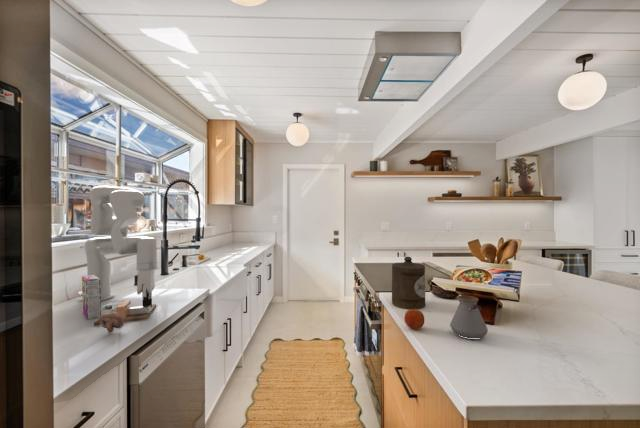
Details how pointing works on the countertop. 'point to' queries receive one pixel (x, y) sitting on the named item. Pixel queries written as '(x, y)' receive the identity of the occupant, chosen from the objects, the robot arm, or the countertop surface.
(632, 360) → the countertop surface
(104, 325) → the mushroom
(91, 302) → the candy bar box
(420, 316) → the fruit
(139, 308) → the link
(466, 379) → the countertop surface
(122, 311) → the keeper
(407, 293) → the wooden container
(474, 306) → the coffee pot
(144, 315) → the board
